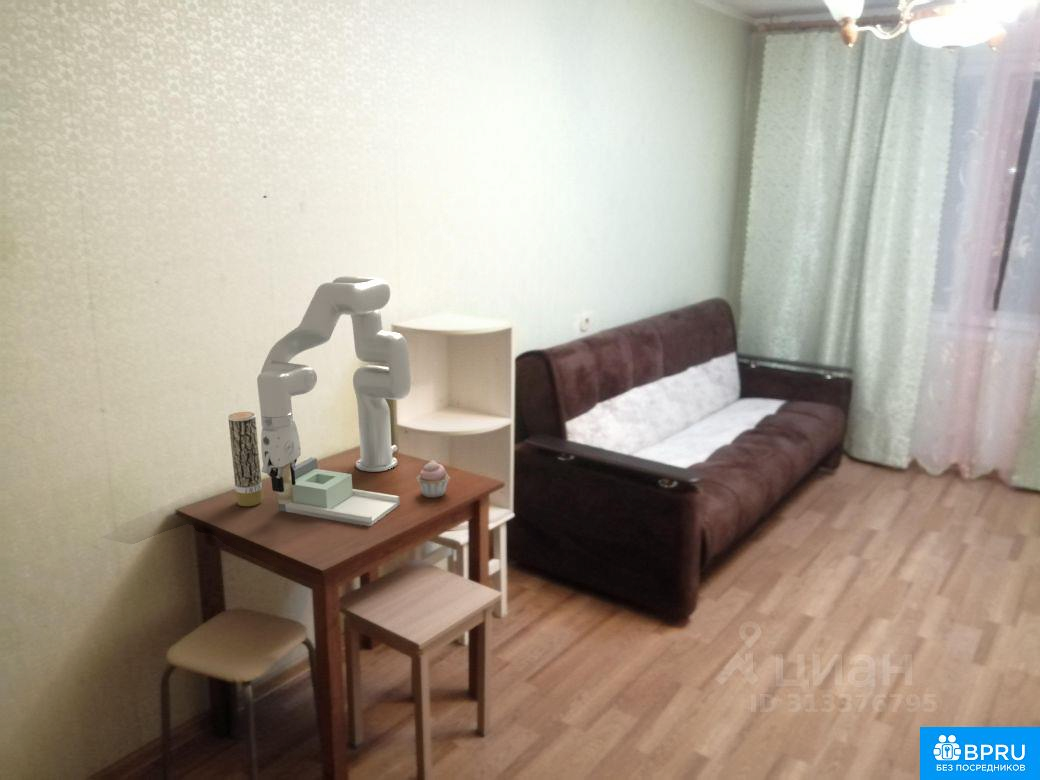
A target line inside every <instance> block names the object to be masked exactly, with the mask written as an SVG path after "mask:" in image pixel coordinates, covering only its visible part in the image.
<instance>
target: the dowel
mask: <svg viewBox="0 0 1040 780" xmlns="http://www.w3.org/2000/svg"><path fill="white" fill-rule="evenodd" d="M274 471H276V468H274ZM281 477H283V484H284V491H283V492H277V491H275V492H276V499H277V501H276V502H277V504H278V505H279V504H288V503H291V502H293V500H294V499H293V489H292V479H291V470H290V463H289V464H287V465H285V466H283V467H281Z"/></svg>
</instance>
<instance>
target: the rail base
mask: <svg viewBox="0 0 1040 780" xmlns="http://www.w3.org/2000/svg"><path fill="white" fill-rule="evenodd" d="M295 466H296V468H295V470H294V473H295V479H297V478H299V477H301V476H302V475H304V474H306V473H308V472H310V471H311V470H313V469H319V468H318V458H317V457H309V458H307V459H305V460H303V461H301V462H300V463H297V464H295ZM352 490H353V495H351V496H350V497H348V498H347V499H345V500H344V501H342V502H341V503H339V504H338V505H336V506H334V507H333V508H331V509H328V508H322V507H316V506H310V505H304V504H299V503H293V502H291V503H288V504H279V503H278V505H279V506H278V507H279V511H281V512H285V513H291V514H292V513H293V514H295V515H301V516H302V515H303V516H308V517H312V518H313V517H314V518H319V519H325V520H331V521H336V522H342V523H346V524H347V523H348V524H353V525H358V524H359V525H358V526H363V525H365V526H364V527H369V526H370V527H372V526H373V525H374V523H375V524H376V523H377V522H378V520H379V521H380V520H381V519H383V518H384V517H385V516H387V515H388V514H389V513H391V512H392V511H393V510H395V509H396V508H397V507H399V506H400V495H399V496H398V495H393V494H388V493H381V492H375V491H367V490H362V489H356V488H352ZM398 505H399V506H398ZM386 514H387V515H386Z"/></svg>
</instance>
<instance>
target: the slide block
mask: <svg viewBox="0 0 1040 780" xmlns="http://www.w3.org/2000/svg"><path fill="white" fill-rule="evenodd" d="M295 483H296V484H295V485H292V489H293V499H294V500H293V503H299V504H304V505H310V506H316V507H322V508H328V509H331V508H333V507H334V506H336V505H338V504H339V503H341V502H342V501H344V500H345V499H347V498H348V497H350V496H351V495H353V490H352V489H353V475H352V473H344V472H339V471H334V470H333V471H332V470H327V469H321V468H318V469H313V470H311V471H310V472H308V473H306V474H304V475H302V476H301V477H299V478H297V479H295Z"/></svg>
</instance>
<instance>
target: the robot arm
mask: <svg viewBox="0 0 1040 780" xmlns="http://www.w3.org/2000/svg"><path fill="white" fill-rule="evenodd" d="M390 299H391V289H390V286H389V284H388V283H387V281H386V280H384V279H383V278H380V277H379V278H378V277H365V276H363V277H362V276H350V275H349V276H339V277H336V278H335V279H333V281H332V282H324V283H322V284H320V285H319V286H318V287H317V288H316V291H315V292H314V294H313V297H312V299H310V300H311V301H310V302H309V304H308V307H307V309H306V311H305V313H304V315H303V317H302V319H301V321H300V323H299V324H298V326H297V327H295V328H294V329H292V330H291V331H289V332H288V333H287V334H285V335H284V336H283V337H282V338H280V339H279V340H278V341H277V342H275V344H274V345H273V346H272V347H271V349H270V350H269V352H268V355H266V358H265V360H264V362H263V365H262V368H261V371H260V373H259V374H258V375H257V378H256V382H257V383H256V384H257V391H258V392H257V393H258V402H259V410H260V418H261V419H260V421H261V435H260V437H261V438H260V443H261V445H260V448H261V459H262V468H261V472H262V474H263V473H264V474H267V475H268V476H269V477H270V479H271V480H270V481H271V486H272V487H271V488H272V489H271V490H272V491H273V492H276V491H277V492H283V491H284V484H283V477H281V467H283V466H285V465H287V464H289V463H290V470H291V479H292V485H295V484H296V483H295V473H294V470H295V468H296V465H297V464H296V463H297V461H298V459H299V457H300V456H301V455H302V454H301V453H302V452H301V451H302V450H301V441H300V436H299V433H298V428H297V425H296V421H295V420H294V418H293V407H292V397H296V396H300V395H305V394H308V393H309V392H311V391H312V390H313V389H314V388H315V387H316V385H317V382H318V376H317V373H316V371H315V369H314V368H312V367H311V366H309V365H306V364H301V363H299V364H298V363H291V362H290V361H291V360H292V359H293V358H295V357H296V356H297V355H298V354H301V353H303V352H305V351H307V350H312V349H313V348H317V347H319V346H321V345H325V344H326V343H328V342H329V341H330V339H331V337H332V334H333V333H334V330H335V327H336V326H337V323H338V322H339V320H340V318H341V316H342V315H346V316H348V315H349V316H350V318H351V324H352V332H353V343H354V351H355V355H356V358H357V359H358V360H359V361H361V362H364V363H369V365H367V364H365V365H362V366H360V367H358V368H356V370H355V371H354V373H353V375H352V376H353V377H352V383H353V384H352V386H353V389H354V392H355V393H354V394H355V397H356V401H357V413H358V431H359V450H360V451H359V452H360V453H359V454H360V458H359V459H358V460H356V462H355V467H356V469H358V470H360V471H363V472H368V473H369V472H371V473H374V472H375V473H376V472H384V471H389V470H391V468H392V469H393V467H394V468H395V467H396V466H397V465H398V459H397V458H396V457H394V456H393V454H394V452H396V451H398V446H397V444H393V445H392V432H391V429H392V427H391V409H390V407H389V404H388V402H387V400H397V401H399V400H404V399H406V398H407V397H408V395H409V393H410V391H411V386H412V383H411V381H412V380H411V379H412V378H411V365H410V364H411V363H410V354H409V353H410V352H409V350H410V349H409V345H408V342H407V340H406V338H405V337H404V335H402V334H401V333H398V332H393V331H385V330H384V329H383V324H382V323H383V322H382V316H381V315H382V314H381V312H380V310H381V309H383V308H384V307H385V306H386V305H387V304H388V303H389V301H390ZM370 363H371V364H372V365H371V364H370ZM373 364H381V365H373ZM383 365H386V366H383ZM274 468H276V471H274ZM388 469H389V470H388Z"/></svg>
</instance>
